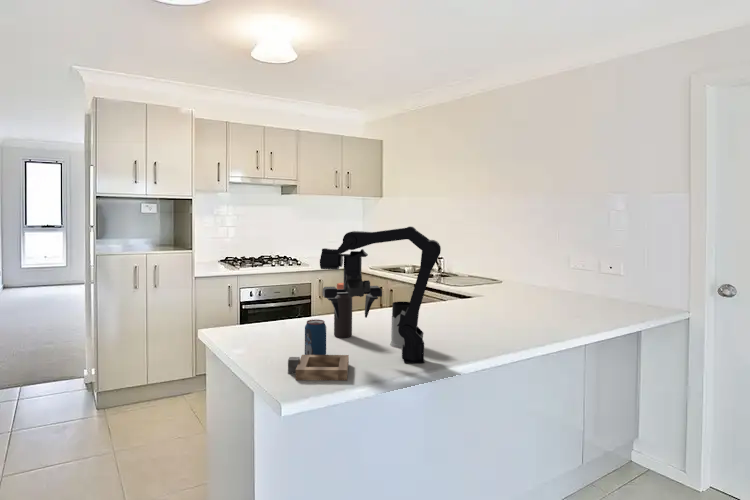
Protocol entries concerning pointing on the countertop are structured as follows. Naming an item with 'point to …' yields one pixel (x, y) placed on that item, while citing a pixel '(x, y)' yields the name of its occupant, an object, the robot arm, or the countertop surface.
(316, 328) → the soda can
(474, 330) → the countertop surface
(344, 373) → the wooden square frame
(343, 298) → the bottle
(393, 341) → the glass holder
